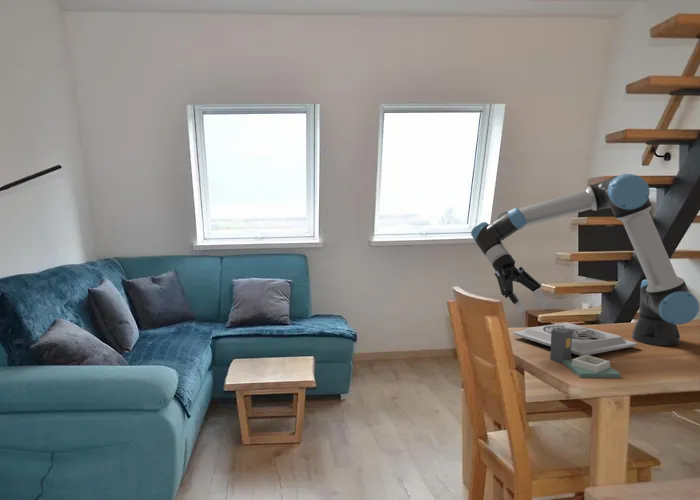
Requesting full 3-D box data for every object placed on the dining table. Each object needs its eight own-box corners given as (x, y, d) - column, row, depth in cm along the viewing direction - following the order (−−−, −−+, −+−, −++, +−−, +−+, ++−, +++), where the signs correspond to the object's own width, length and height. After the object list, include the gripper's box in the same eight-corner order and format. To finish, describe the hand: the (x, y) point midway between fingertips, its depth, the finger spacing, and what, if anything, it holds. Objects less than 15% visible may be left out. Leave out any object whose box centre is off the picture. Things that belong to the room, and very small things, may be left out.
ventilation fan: (565, 314, 195) (639, 331, 169) (564, 329, 196) (637, 349, 170) (512, 321, 182) (583, 341, 155) (511, 337, 182) (581, 360, 156)
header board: (600, 363, 154) (601, 354, 154) (620, 377, 142) (621, 367, 142) (562, 363, 154) (563, 353, 154) (579, 377, 142) (580, 366, 142)
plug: (557, 357, 161) (559, 328, 160) (571, 360, 157) (572, 331, 156) (550, 359, 158) (551, 330, 157) (563, 363, 154) (564, 333, 153)
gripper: (514, 263, 184) (547, 309, 174) (471, 268, 169) (505, 318, 159) (527, 251, 179) (562, 298, 169) (485, 254, 164) (520, 306, 154)
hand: (535, 308), depth 164 cm, fingers open, 13 cm apart
